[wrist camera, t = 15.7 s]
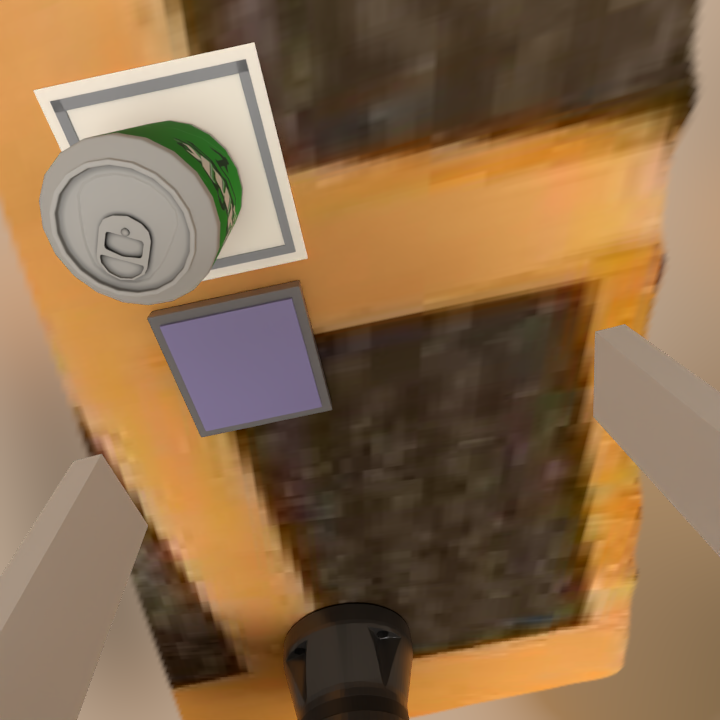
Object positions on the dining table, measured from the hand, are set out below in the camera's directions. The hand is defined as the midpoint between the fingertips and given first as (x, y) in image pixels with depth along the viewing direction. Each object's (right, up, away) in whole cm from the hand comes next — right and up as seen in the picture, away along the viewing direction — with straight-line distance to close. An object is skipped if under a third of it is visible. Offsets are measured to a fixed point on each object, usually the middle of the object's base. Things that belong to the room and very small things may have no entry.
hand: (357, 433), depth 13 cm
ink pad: (-9, +2, +25) cm, 26 cm away
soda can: (-11, +13, +18) cm, 25 cm away
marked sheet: (-11, +13, +18) cm, 25 cm away
